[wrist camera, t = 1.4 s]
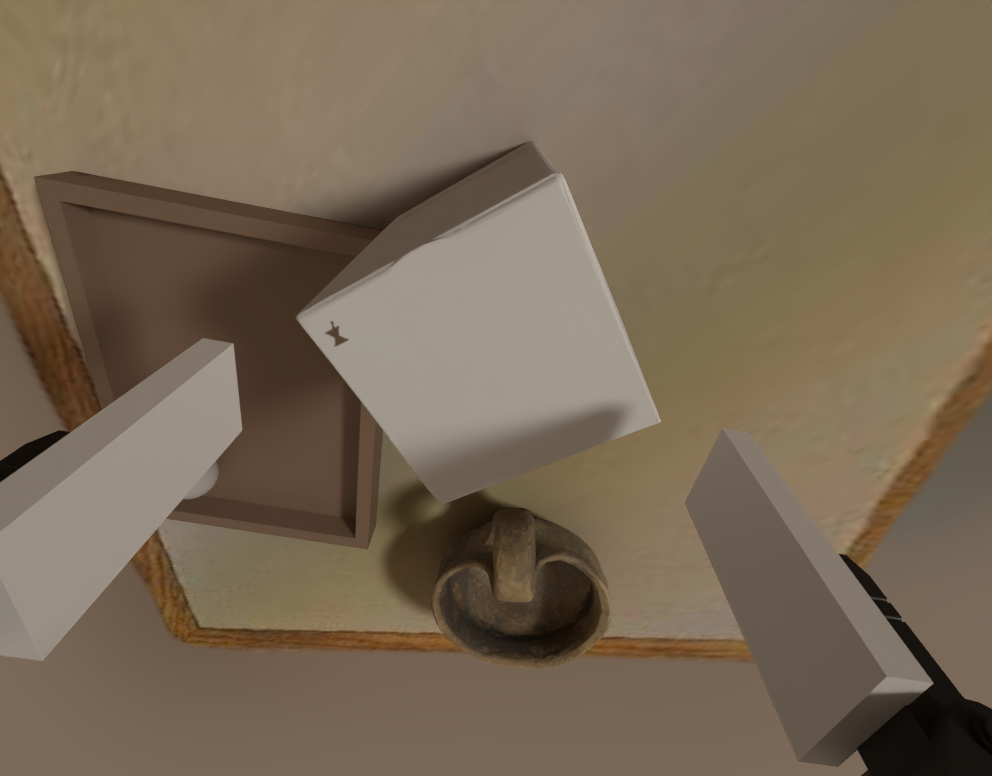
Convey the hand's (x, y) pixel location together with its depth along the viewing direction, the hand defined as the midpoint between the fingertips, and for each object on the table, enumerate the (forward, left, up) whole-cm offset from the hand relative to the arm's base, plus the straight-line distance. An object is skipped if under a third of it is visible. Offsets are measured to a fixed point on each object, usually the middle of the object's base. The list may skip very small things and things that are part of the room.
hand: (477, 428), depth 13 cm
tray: (+12, -15, -17) cm, 26 cm away
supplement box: (0, 0, -18) cm, 18 cm away
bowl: (+23, +6, -18) cm, 29 cm away
